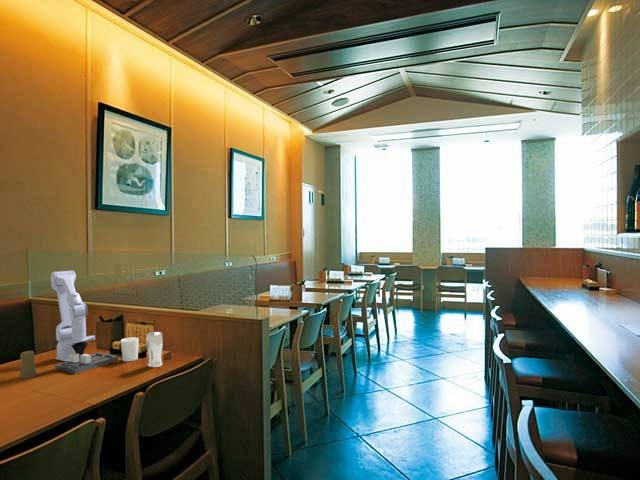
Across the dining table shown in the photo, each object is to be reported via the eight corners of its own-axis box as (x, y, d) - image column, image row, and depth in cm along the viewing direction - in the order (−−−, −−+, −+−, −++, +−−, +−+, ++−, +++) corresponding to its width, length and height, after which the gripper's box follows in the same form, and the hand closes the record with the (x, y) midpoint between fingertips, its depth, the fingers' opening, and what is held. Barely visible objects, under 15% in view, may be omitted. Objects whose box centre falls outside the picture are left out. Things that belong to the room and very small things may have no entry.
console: (55, 369, 184) (55, 363, 184) (98, 356, 203) (98, 350, 203) (74, 374, 177) (74, 367, 177) (117, 360, 196) (117, 354, 196)
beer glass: (166, 363, 190) (165, 331, 190) (158, 368, 183) (157, 335, 183) (152, 362, 191) (151, 331, 191) (144, 367, 184) (143, 335, 184)
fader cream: (69, 361, 188) (68, 353, 188) (74, 360, 190) (74, 352, 190) (74, 362, 186) (73, 354, 186) (79, 361, 188) (79, 353, 188)
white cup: (134, 361, 193) (133, 341, 193) (118, 362, 193) (117, 341, 193) (141, 356, 201) (141, 337, 201) (126, 357, 201) (125, 337, 201)
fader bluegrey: (80, 362, 186) (80, 354, 186) (85, 361, 188) (85, 353, 188) (85, 364, 184) (85, 356, 184) (90, 362, 186) (90, 354, 186)
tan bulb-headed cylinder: (27, 379, 172) (26, 353, 172) (16, 378, 174) (15, 353, 173) (40, 374, 178) (39, 349, 178) (28, 373, 179) (28, 349, 179)
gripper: (68, 334, 182) (69, 363, 182) (98, 327, 195) (99, 355, 195) (59, 332, 185) (60, 361, 185) (89, 325, 198) (90, 353, 198)
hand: (79, 358), depth 190 cm, fingers closed
